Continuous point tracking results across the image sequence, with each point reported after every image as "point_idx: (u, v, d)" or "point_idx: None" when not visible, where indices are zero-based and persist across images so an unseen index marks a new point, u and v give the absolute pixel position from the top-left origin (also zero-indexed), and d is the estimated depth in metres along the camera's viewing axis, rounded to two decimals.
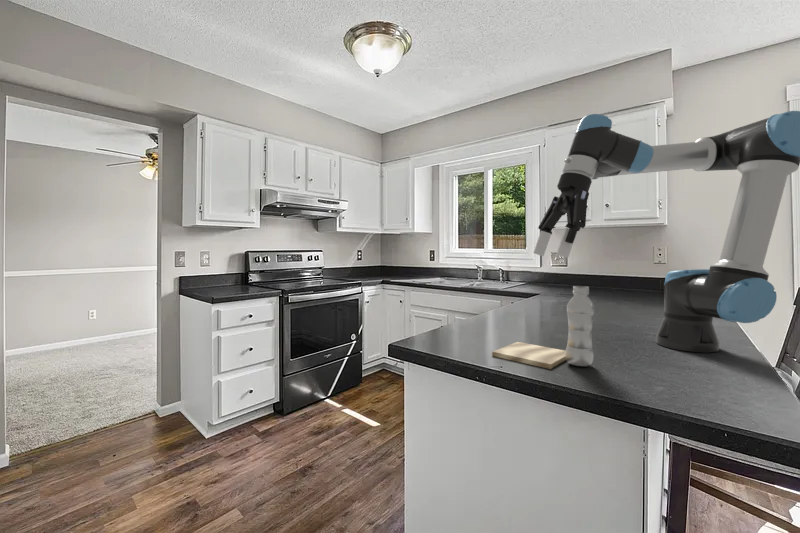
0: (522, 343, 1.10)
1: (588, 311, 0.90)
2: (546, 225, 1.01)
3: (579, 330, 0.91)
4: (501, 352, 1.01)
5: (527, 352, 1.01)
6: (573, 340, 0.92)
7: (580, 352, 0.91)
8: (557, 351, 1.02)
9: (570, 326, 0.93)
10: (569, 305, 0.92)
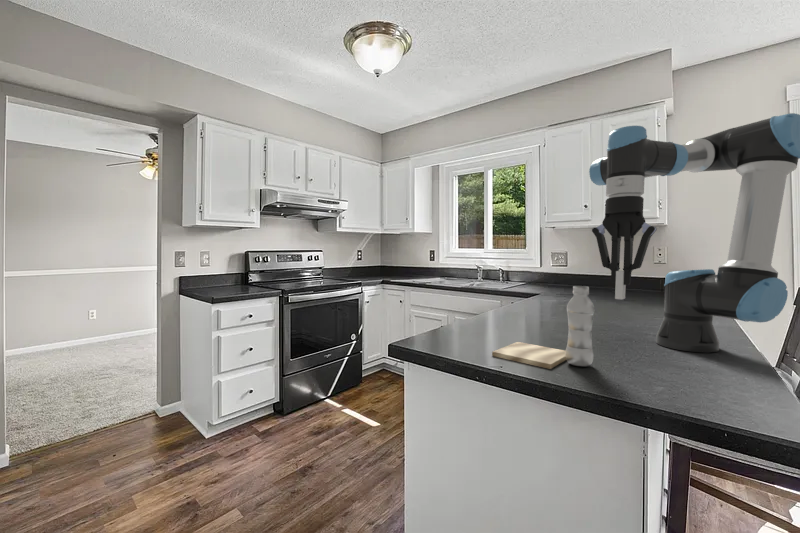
0: (522, 343, 1.10)
1: (588, 311, 0.90)
2: (617, 260, 0.86)
3: (579, 330, 0.91)
4: (501, 352, 1.01)
5: (527, 352, 1.01)
6: (573, 340, 0.92)
7: (580, 352, 0.91)
8: (557, 351, 1.02)
9: (570, 326, 0.93)
10: (569, 305, 0.92)
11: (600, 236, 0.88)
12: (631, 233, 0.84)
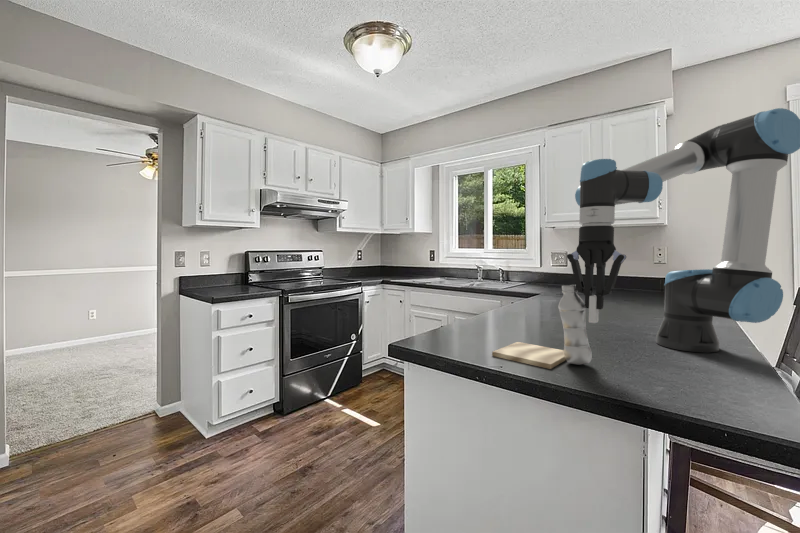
0: (522, 343, 1.10)
1: (580, 307, 0.91)
2: (590, 285, 0.90)
3: (574, 328, 0.92)
4: (501, 352, 1.01)
5: (527, 352, 1.01)
6: (569, 339, 0.92)
7: (577, 350, 0.91)
8: (557, 351, 1.02)
9: (564, 325, 0.94)
10: (560, 304, 0.94)
11: (574, 262, 0.92)
12: (603, 260, 0.88)
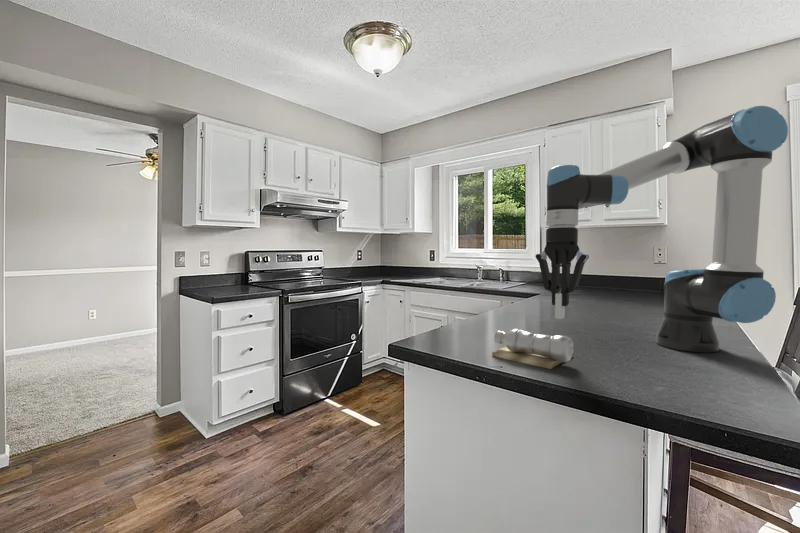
0: None
1: (511, 343, 0.99)
2: (556, 283, 0.96)
3: (531, 351, 0.97)
4: (501, 352, 1.01)
5: None
6: (543, 355, 0.96)
7: (551, 356, 0.93)
8: None
9: None
10: None
11: (542, 262, 0.98)
12: (567, 260, 0.94)
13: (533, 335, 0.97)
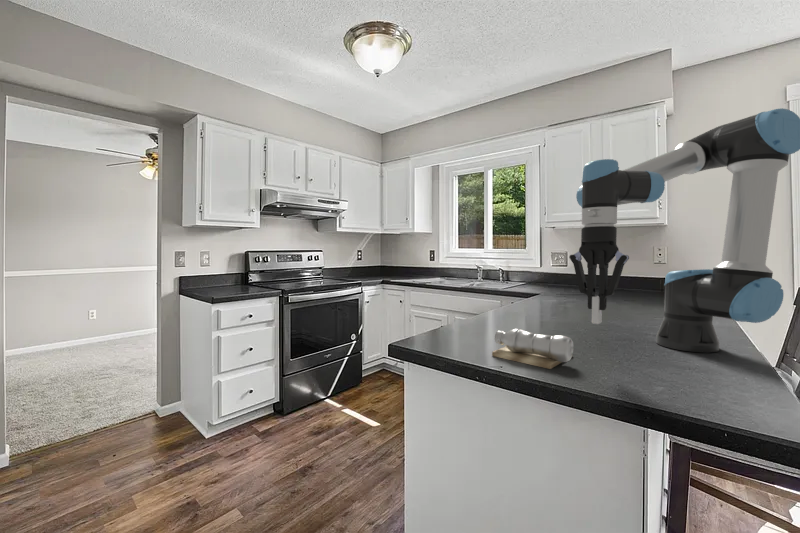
0: None
1: (511, 343, 0.99)
2: (593, 286, 0.90)
3: (531, 351, 0.97)
4: (501, 352, 1.01)
5: None
6: (543, 355, 0.96)
7: (551, 356, 0.93)
8: None
9: None
10: None
11: (577, 263, 0.92)
12: (605, 261, 0.88)
13: (533, 335, 0.97)
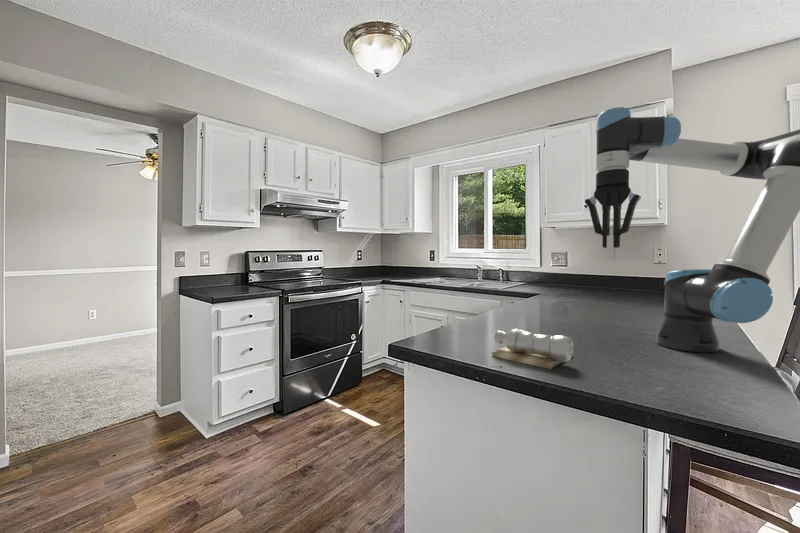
0: None
1: (511, 343, 0.99)
2: (607, 226, 0.98)
3: (531, 351, 0.97)
4: (501, 352, 1.01)
5: None
6: (543, 355, 0.96)
7: (551, 356, 0.93)
8: None
9: None
10: None
11: (592, 206, 1.00)
12: (619, 202, 0.96)
13: (533, 335, 0.97)
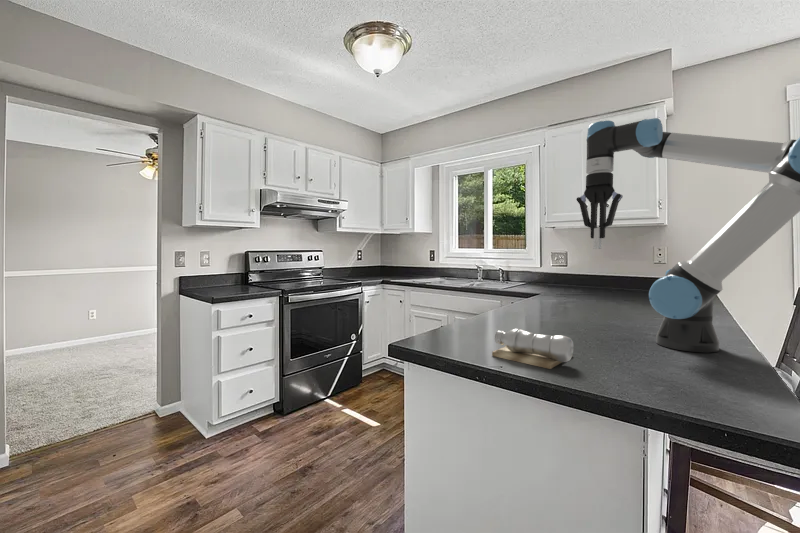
0: None
1: (511, 343, 0.99)
2: (595, 220, 1.17)
3: (531, 351, 0.97)
4: (501, 352, 1.01)
5: None
6: (543, 355, 0.96)
7: (551, 356, 0.93)
8: None
9: None
10: None
11: (582, 203, 1.19)
12: (604, 199, 1.14)
13: (533, 335, 0.97)
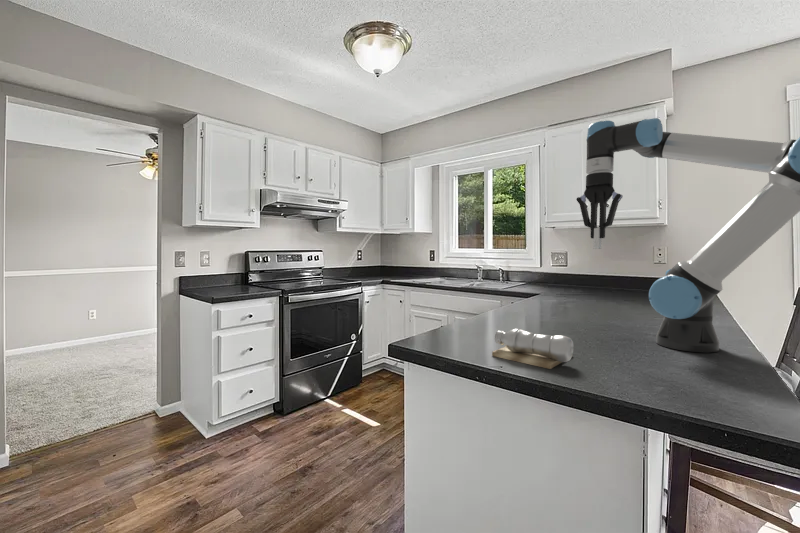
0: None
1: (511, 343, 0.99)
2: (595, 220, 1.17)
3: (531, 351, 0.97)
4: (501, 352, 1.01)
5: None
6: (543, 355, 0.96)
7: (551, 356, 0.93)
8: None
9: None
10: None
11: (582, 203, 1.19)
12: (604, 199, 1.14)
13: (533, 335, 0.97)
